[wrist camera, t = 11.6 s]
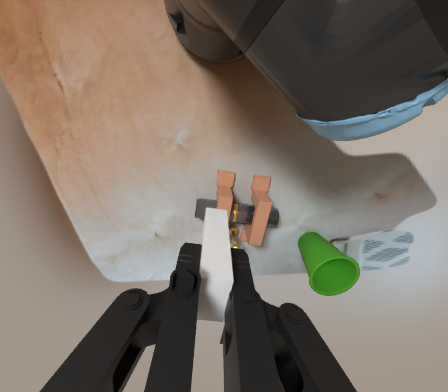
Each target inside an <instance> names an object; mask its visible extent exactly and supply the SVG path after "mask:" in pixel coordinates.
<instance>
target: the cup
mask: <svg viewBox="0 0 448 392" xmlns="http://www.w3.org/2000/svg"><path fill="white" fill-rule="evenodd" d="M298 246H299V249H300V252H301V255H302V258H303V261H304V264H305V266H306V269H307V272H308V275H309V284H310V286H311V288H312V289H313V290H314V291H315V292H317V293H319V294H321V295H327V296H331V295H337V294H341V293H343V292H345V291H347V290H348V289H350V288H351V287H352V286H353V285H354V284H355V283H356V281H357V280H358V278H359V275H360V268H359V265H358V263H357V262H356V261H355V260H354V259H352V258H350V257H347V256H346V255H345V254H343V253H342V252H341V251H339V250H338V249H337V248H336V247H334V246H333V245H332V244H331V243H329V242H328V241H327V240H326V239H324V238H323V237H322V236H320V235H319V234H318V233H315V232H307V233H304V234H303V235H302V236H301V237H300V238H299V241H298Z"/></svg>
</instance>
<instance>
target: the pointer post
mask: <svg viewBox="0 0 448 392" xmlns="http://www.w3.org/2000/svg"><path fill="white" fill-rule="evenodd" d="M238 233H239V230H238V228H237V227H236V226H231V227H229V236H231V237H232V244H233V246H232V248H238V249H239V245H238V243H237V237H236V236H237V235H238Z"/></svg>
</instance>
